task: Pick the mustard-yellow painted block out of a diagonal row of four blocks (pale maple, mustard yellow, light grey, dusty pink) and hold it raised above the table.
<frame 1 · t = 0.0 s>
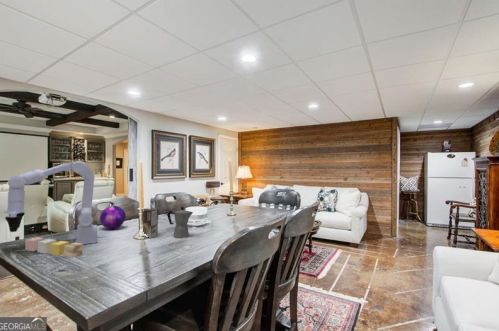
hand: (14, 229, 118), 10 cm above the table, tool pointing down, fingers open, 7 cm apart
decorative orb: (112, 228, 166), on the table
maple block: (73, 255, 116), on the table
mustard block: (59, 253, 118), on the table
coffeepot: (179, 236, 153), on the table
coffee box: (148, 236, 151), on the table
grey block: (46, 251, 120), on the table
pink block: (34, 249, 122), on the table
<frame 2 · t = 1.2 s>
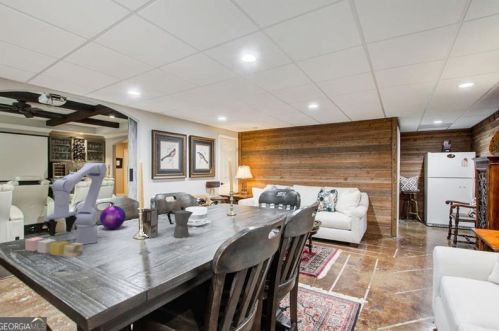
hand: (60, 233, 118), 9 cm above the table, tool pointing down, fingers open, 7 cm apart
nothing on the table moved.
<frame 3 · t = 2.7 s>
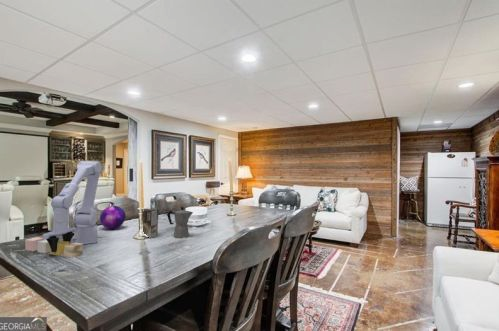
hand: (59, 250, 118), 1 cm above the table, tool pointing down, fingers closed on mustard block, 5 cm apart
mustard block: (59, 253, 118), on the table, touching gripper
everything else where it was.
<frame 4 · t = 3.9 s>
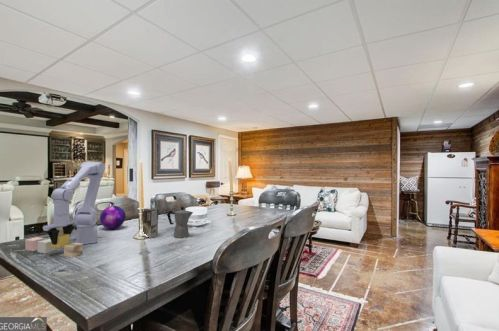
hand: (60, 242, 118), 5 cm above the table, tool pointing down, fingers closed on mustard block, 5 cm apart
mustard block: (60, 245, 118), point 3 cm above the table, touching gripper
everything else where it was.
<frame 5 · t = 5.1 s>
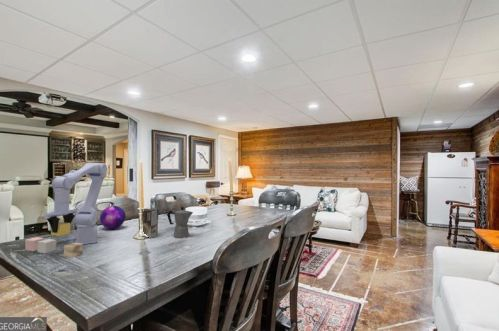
hand: (60, 231, 118), 10 cm above the table, tool pointing down, fingers closed on mustard block, 5 cm apart
mustard block: (60, 234, 118), point 9 cm above the table, touching gripper
everything else where it was.
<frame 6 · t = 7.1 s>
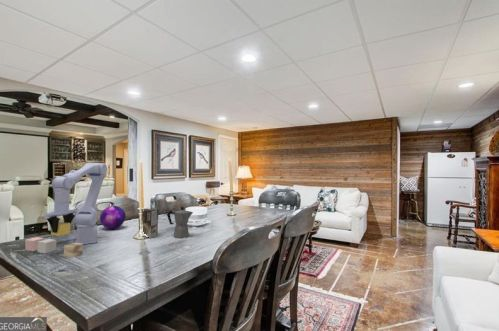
hand: (60, 231, 118), 10 cm above the table, tool pointing down, fingers closed on mustard block, 5 cm apart
mustard block: (60, 234, 118), point 9 cm above the table, touching gripper
everything else where it was.
at the end: the gripper is holding mustard block; mustard block point 9.0 cm above the table; grey block moved 0.1 cm from its start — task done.
